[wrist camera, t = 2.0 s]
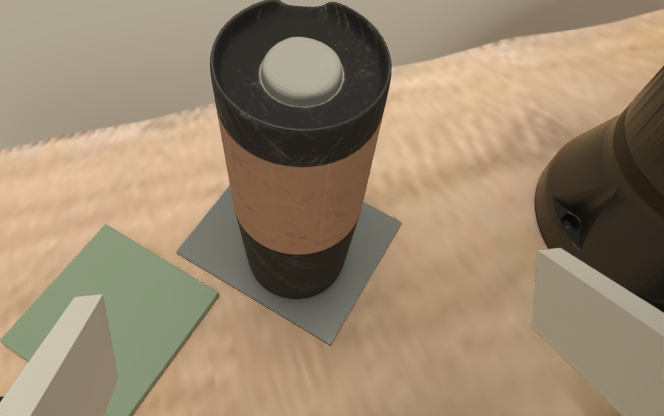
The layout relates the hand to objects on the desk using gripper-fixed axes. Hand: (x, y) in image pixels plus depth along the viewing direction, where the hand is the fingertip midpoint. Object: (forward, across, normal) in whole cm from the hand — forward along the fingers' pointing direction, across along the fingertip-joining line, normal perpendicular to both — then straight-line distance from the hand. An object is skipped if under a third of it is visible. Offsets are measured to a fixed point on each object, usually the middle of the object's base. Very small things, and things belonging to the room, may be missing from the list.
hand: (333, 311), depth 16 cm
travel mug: (+22, 0, -7) cm, 23 cm away
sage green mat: (+20, -12, -9) cm, 25 cm away
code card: (+23, 0, -6) cm, 24 cm away
